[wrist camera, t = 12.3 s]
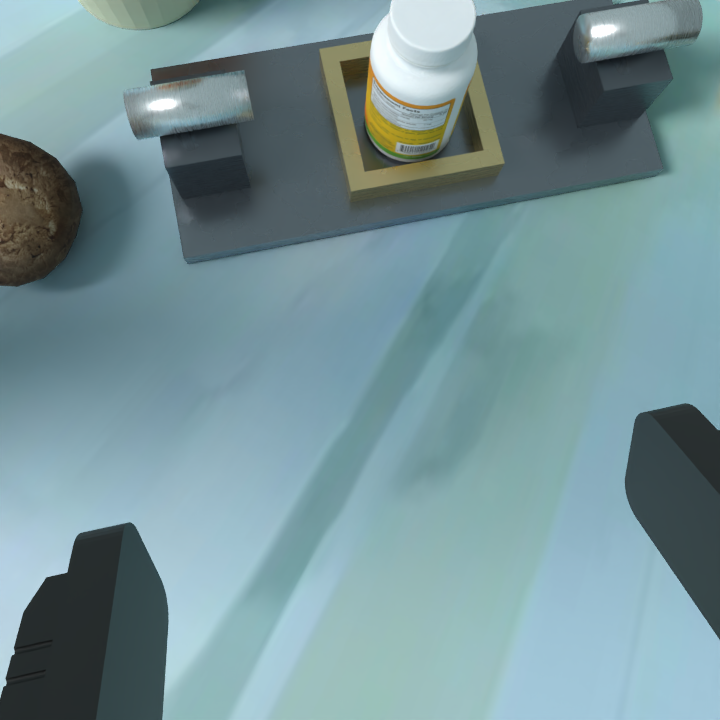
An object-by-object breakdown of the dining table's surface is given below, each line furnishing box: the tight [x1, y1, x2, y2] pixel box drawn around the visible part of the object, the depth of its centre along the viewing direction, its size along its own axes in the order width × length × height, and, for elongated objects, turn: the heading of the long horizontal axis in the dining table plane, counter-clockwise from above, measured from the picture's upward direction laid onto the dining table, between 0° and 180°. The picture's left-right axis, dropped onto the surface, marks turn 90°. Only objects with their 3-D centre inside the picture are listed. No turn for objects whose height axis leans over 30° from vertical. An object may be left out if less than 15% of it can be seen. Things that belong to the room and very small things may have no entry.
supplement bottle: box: [364, 0, 478, 162], centre depth 35 cm, size 5×5×10 cm
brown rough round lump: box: [0, 134, 83, 287], centre depth 36 cm, size 8×8×6 cm
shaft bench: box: [124, 0, 703, 264], centre depth 37 cm, size 30×12×7 cm, turn 102°
